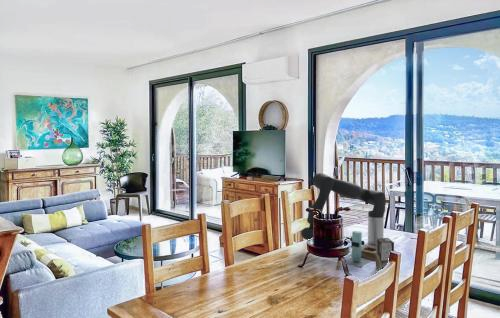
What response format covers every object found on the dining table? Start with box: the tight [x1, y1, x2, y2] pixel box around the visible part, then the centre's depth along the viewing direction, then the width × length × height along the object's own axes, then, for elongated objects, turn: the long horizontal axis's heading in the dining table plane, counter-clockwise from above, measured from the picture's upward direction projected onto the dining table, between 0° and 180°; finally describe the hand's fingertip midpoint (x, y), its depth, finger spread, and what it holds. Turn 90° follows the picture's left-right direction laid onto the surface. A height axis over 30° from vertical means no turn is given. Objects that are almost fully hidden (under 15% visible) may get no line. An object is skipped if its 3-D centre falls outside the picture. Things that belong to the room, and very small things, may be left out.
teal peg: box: [351, 230, 363, 261], centre depth 212 cm, size 5×5×15 cm
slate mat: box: [346, 257, 372, 268], centre depth 212 cm, size 11×11×1 cm
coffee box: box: [375, 237, 395, 272], centre depth 198 cm, size 9×6×16 cm
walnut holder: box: [350, 244, 376, 263], centre depth 223 cm, size 16×16×4 cm
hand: (361, 244), depth 210 cm, fingers closed on teal peg, 4 cm apart
